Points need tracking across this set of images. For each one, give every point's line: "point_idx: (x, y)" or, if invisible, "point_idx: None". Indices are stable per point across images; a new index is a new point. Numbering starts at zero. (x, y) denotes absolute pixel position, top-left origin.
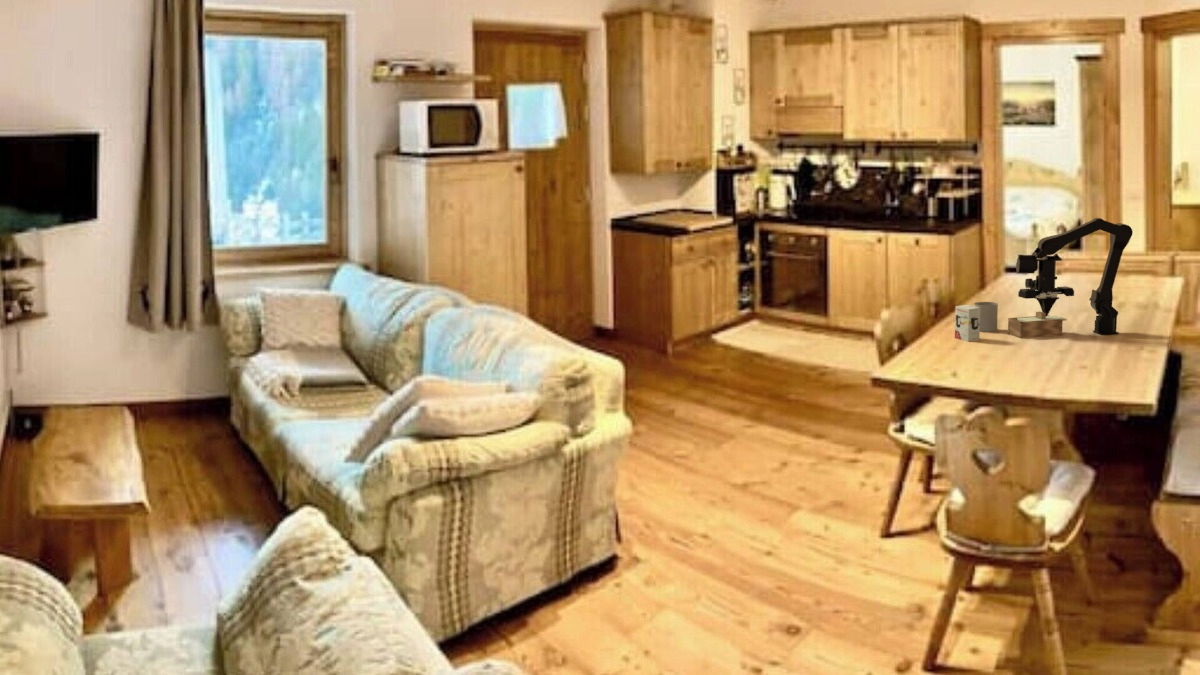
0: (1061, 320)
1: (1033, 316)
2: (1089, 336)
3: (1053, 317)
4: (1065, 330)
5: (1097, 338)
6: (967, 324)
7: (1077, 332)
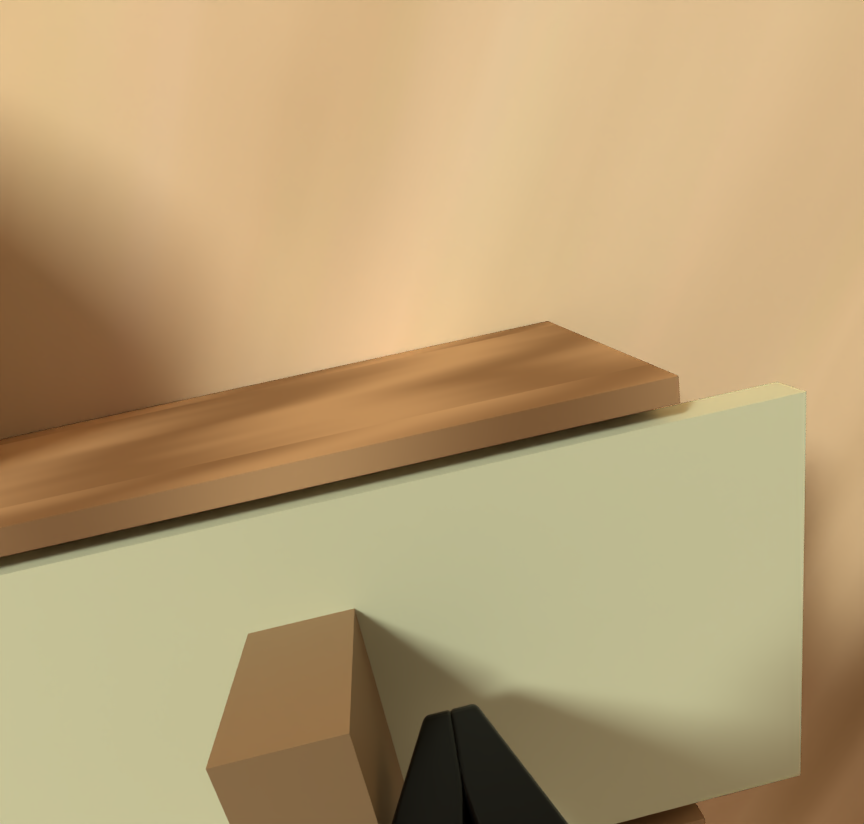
0: (671, 816)
1: (226, 484)
2: (827, 701)
3: (646, 624)
4: (787, 298)
5: (836, 793)
6: None
7: (846, 465)
